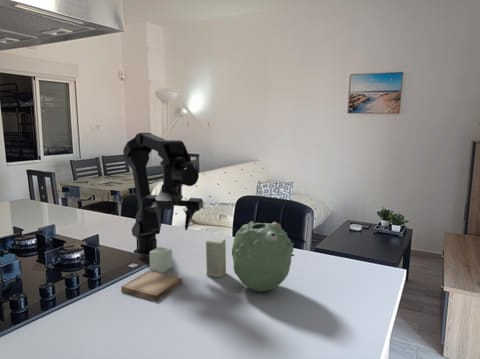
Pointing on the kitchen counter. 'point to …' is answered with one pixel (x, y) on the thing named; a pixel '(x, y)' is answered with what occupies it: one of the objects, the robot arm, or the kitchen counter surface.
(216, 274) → the box
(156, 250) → the block
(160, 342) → the kitchen counter surface
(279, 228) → the green bumpy vase
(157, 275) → the plinth
